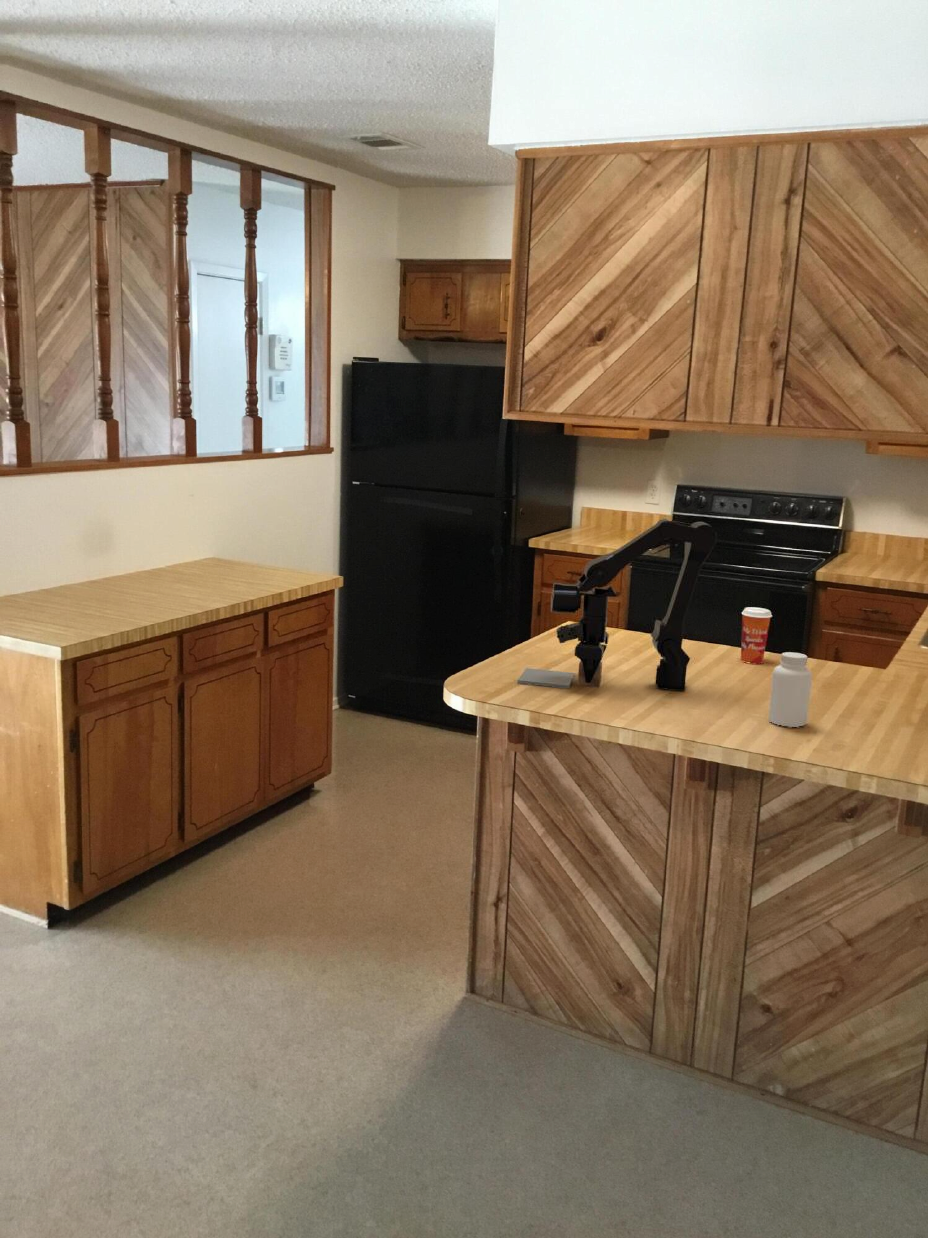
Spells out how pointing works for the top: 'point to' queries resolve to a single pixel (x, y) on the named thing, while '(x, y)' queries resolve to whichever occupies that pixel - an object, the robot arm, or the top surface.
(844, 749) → the top surface
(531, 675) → the plate
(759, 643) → the paper cup
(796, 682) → the pill bottle
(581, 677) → the walnut block
